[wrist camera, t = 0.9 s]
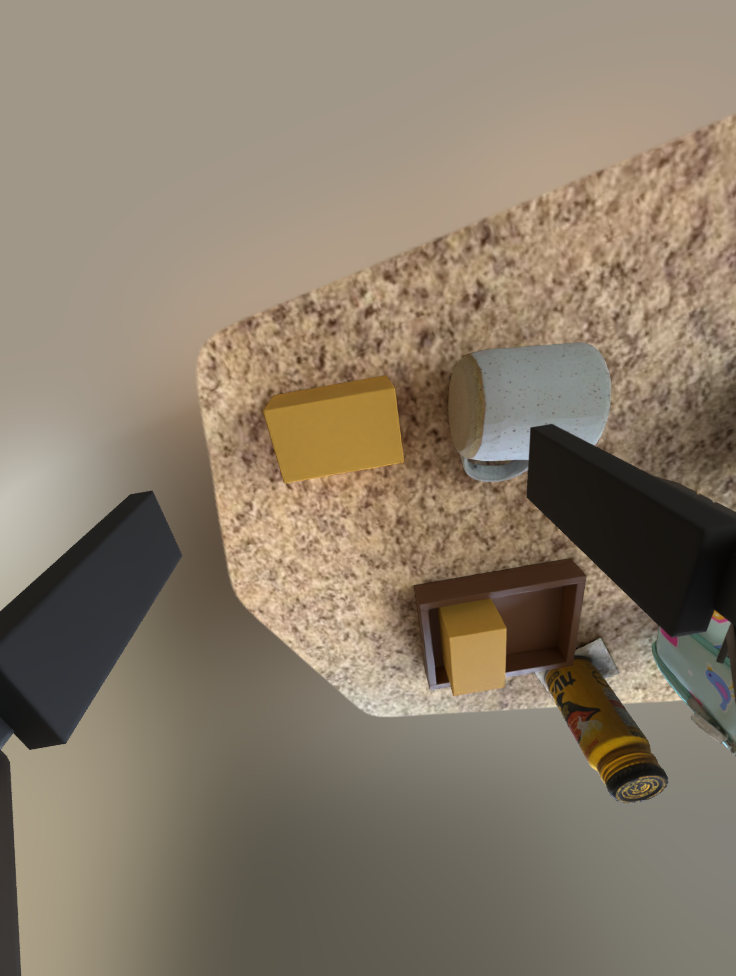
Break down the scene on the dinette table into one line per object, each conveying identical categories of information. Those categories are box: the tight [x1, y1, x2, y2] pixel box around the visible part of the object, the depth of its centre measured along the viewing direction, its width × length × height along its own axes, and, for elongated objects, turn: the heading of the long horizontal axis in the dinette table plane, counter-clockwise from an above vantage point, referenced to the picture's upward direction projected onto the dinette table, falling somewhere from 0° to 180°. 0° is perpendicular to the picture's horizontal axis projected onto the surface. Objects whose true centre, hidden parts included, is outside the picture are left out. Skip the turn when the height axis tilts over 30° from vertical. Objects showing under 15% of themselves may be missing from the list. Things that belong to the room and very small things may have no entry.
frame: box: [414, 559, 586, 690], centre depth 38 cm, size 13×16×3 cm
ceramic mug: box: [448, 342, 611, 482], centre depth 25 cm, size 11×8×8 cm
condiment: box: [534, 638, 668, 803], centre depth 38 cm, size 7×8×12 cm
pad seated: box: [438, 598, 506, 696], centre depth 36 cm, size 8×5×4 cm, turn 9°
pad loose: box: [263, 375, 404, 483], centre depth 26 cm, size 8×5×4 cm, turn 99°
